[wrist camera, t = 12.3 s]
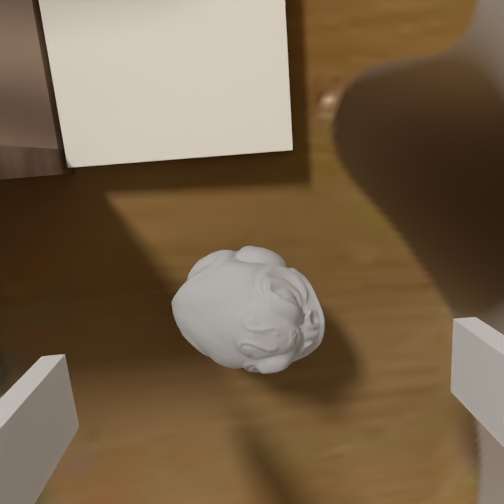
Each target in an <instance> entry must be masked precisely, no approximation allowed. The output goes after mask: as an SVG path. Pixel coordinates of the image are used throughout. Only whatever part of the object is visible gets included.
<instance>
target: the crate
mask: <svg viewBox="0 0 504 504" xmlns="http://www.w3.org/2000/svg"><path fill="white" fill-rule="evenodd" d="M73 173H74V172H73V167H70V168H68V166H67V161H66V155H65V149H64V143H63V138H62V132H61V126H60V120H59V115H58V109H57V103H56V97H55V92H54V86H53V80H52V74H51V69H50V63H49V57H48V52H47V46H46V40H45V34H44V29H43V23H42V17H41V11H40V6H39V0H0V180H1V179H13V178H25V177H37V176H49V175H61V174H73Z"/></svg>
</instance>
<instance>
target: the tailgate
mask: <svg viewBox="0 0 504 504" xmlns="http://www.w3.org/2000/svg"><path fill="white" fill-rule="evenodd" d="M39 6H40V11H41V17H42V23H43V29H44V34H45V40H46V46H47V52H48V57H49V63H50V69H51V74H52V80H53V86H54V92H55V97H56V103H57V109H58V115H59V120H60V126H61V132H62V138H63V143H64V149H65V155H66V161H67V166H68V168H70V167H87V166H100V165H112V164H125V163H138V162H151V161H163V160H176V159H189V158H202V157H214V156H227V155H240V154H253V153H265V152H278V151H290V150H293V143H292V124H291V105H290V86H289V67H288V48H287V29H286V10H285V0H39Z"/></svg>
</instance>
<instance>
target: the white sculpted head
mask: <svg viewBox="0 0 504 504" xmlns="http://www.w3.org/2000/svg"><path fill="white" fill-rule="evenodd" d="M187 280H188V281H187V282H186V283H184V284H183V285H182V286H181V287H180V289H179V290H178V292H177V293H176V294H175V296H174V298H173V300H172V302H171V303H172V310H173V315H174V318H175V321H176V324H177V326H178V327H179V329H180V331H181V333H182V335H183V336H184V337H185V339H186V340H187V341H188V342H189V343H190V344H191V345H192V346H194V347H195V348H196V349H197V350H198V351H199V352H201V353H202V354H204V355H206V356H208V357H210V358H211V359H213V360H214V362H217V363H218V364H220V365H222V366H225V367H228V368H236V369H239V368H244V369H245V370H247V371H249V372H260V373H261V374H268V373H275V372H280V371H282V370H284V369H286V368H287V367H288V366H289V365H290V364H291V363H292V362H293V361H296V360H299V359H301V358H303V357H305V356H307V355H309V354H310V353H311V352H313V351H314V350H315V349H316V348H317V347H318V346H319V345H320V344H321V341H322V339H323V336H324V331H325V318H324V314H323V311H322V309H321V306H320V303H319V301H318V299H317V296H316V294H315V292H314V290H313V288H312V286H311V284H310V282H309V281H308V280H307V278H306V277H305V276H303V275H302V274H301V273H299V272H298V271H297V270H296V269H294V268H286V263H285V261H284V260H283V259H282V258H281V257H280V256H279V255H278V254H276V253H275V252H272V251H270V250H267V249H265V248H260V247H254V246H245V247H243V248H241V249H240V250H239V251H231V250H220V251H216V252H214V253H211V254H209V255H207V256H205V257H204V258H202V259H200V260H199V261H198V262H197V263H196V264H195V265H194V266H193V268H192V269H191V271H190V272H189V274H188V278H187Z"/></svg>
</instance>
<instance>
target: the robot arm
mask: <svg viewBox="0 0 504 504" xmlns="http://www.w3.org/2000/svg"><path fill="white" fill-rule="evenodd" d="M451 392H452V393H453V394H454V395H455V397H456V398H457V399H458V400H459V401H460V402H461V403H462V404H463V405H464V406H465V407H466V408H467V409H468V410H469V411H470V412H471V414H472V415H473V416H474V417H475V418H476V419H477V420H478V421H479V422H480V423H481V424H482V425H483V426H484V427H485V428H486V429H487V430H488V432H489V433H490V434H491V435H492V436H493V437H494V438H495V439H496V440H497V441H498V442H499V443H500V444H501V445H502V446H503V447H504V335H502V334H501V333H499V332H498V331H496V330H494V329H493V328H492V327H490V326H489V325H487V324H485V323H484V322H482V321H481V320H479V319H478V318H476V317H471V318H459V319H453V342H452V369H451ZM78 428H79V424H78V419H77V413H76V408H75V403H74V398H73V393H72V388H71V383H70V378H69V372H68V367H67V362H66V357H65V354H61V355H50V356H41V357H40V358H39V360H38V361H37V362H36V363H35V364H34V365H33V366H32V367H31V368H30V369H29V370H28V371H27V372H26V373H25V374H24V375H23V376H22V377H21V378H20V379H19V380H18V381H17V382H16V383H15V384H14V385H13V386H12V387H11V388H10V389H9V390H8V391H7V392H6V393H5V394H4V395H3V396H2V397H1V398H0V504H35V502H36V501H37V499H38V497H39V496H40V494H41V492H42V490H43V489H44V487H45V485H46V483H47V482H48V480H49V478H50V476H51V475H52V473H53V471H54V470H55V468H56V466H57V464H58V463H59V461H60V459H61V457H62V456H63V454H64V452H65V451H66V449H67V447H68V445H69V444H70V442H71V440H72V438H73V437H74V435H75V433H76V432H77V430H78Z"/></svg>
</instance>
